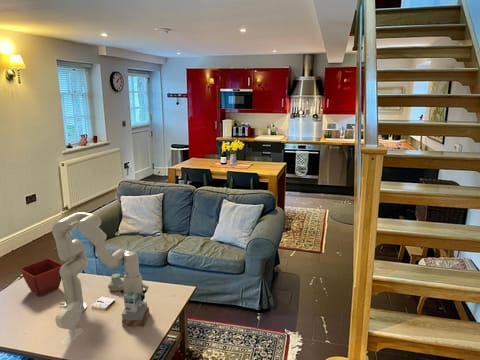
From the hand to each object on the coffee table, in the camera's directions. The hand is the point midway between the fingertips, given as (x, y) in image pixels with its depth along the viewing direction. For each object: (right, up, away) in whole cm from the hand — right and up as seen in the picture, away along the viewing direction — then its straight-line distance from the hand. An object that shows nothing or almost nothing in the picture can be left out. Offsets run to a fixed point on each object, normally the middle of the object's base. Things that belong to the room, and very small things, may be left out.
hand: (134, 299), depth 207 cm
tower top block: (0, -9, +2) cm, 9 cm away
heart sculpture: (-31, -16, -11) cm, 36 cm away
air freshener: (-22, -4, +35) cm, 42 cm away
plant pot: (-70, -5, +34) cm, 78 cm away
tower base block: (0, -13, +3) cm, 13 cm away
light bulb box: (0, -5, +1) cm, 5 cm away
